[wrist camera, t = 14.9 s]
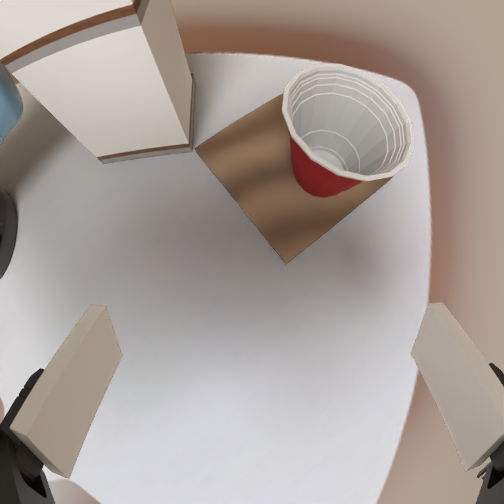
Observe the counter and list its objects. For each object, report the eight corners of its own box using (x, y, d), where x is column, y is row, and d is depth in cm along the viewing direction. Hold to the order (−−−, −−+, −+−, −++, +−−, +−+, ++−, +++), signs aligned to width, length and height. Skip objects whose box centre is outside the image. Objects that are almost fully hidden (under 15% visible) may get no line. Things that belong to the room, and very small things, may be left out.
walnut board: (196, 152, 33) (194, 148, 32) (302, 87, 34) (302, 82, 33) (285, 264, 31) (286, 262, 30) (389, 179, 32) (393, 176, 31)
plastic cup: (376, 219, 31) (434, 180, 19) (276, 224, 30) (290, 180, 19) (359, 131, 32) (396, 67, 20) (268, 131, 32) (274, 58, 20)
